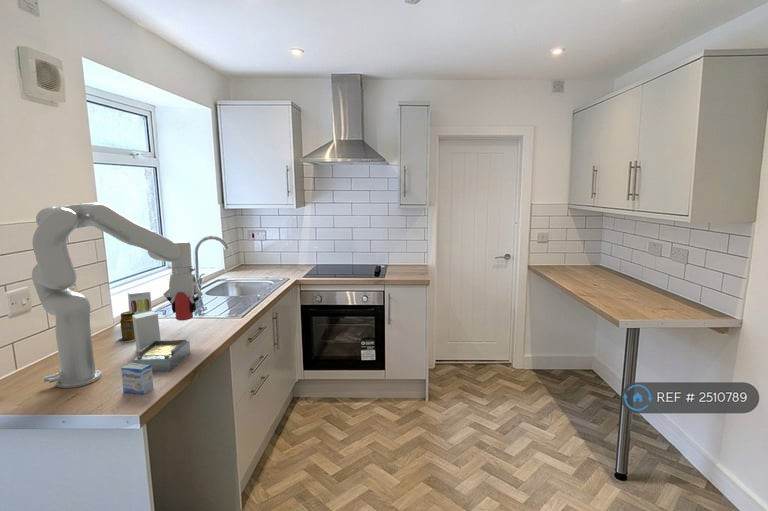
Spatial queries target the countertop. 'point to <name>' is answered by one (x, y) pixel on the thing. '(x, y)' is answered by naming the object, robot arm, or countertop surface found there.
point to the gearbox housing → (163, 354)
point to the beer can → (182, 307)
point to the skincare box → (145, 329)
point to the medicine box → (137, 378)
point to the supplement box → (139, 301)
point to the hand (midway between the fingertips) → (184, 311)
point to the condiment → (127, 327)
